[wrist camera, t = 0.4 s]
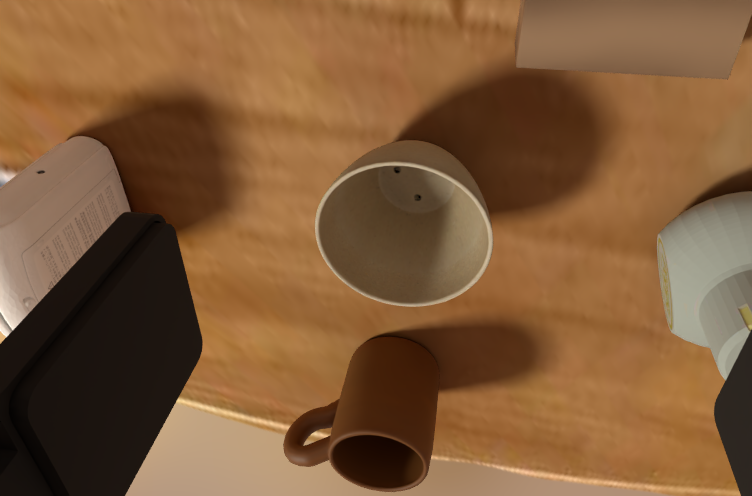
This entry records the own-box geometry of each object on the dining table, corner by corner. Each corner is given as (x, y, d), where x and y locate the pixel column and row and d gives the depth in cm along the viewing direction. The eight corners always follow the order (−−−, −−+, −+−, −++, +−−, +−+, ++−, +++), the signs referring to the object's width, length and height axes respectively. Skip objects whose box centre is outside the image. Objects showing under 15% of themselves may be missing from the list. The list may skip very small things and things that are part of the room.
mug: (323, 402, 55) (295, 497, 47) (290, 343, 51) (255, 437, 43) (450, 391, 51) (442, 492, 44) (426, 327, 47) (413, 427, 40)
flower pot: (358, 84, 36) (331, 138, 30) (518, 131, 36) (521, 194, 30) (329, 215, 42) (302, 280, 36) (465, 255, 42) (459, 326, 36)
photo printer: (54, 131, 42) (-83, 234, 32) (110, 134, 41) (-11, 240, 31) (99, 249, 48) (-3, 366, 38) (150, 253, 47) (58, 373, 37)
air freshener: (649, 185, 37) (689, 292, 29) (806, 157, 34) (897, 266, 26) (660, 314, 42) (697, 433, 35) (795, 299, 40) (867, 423, 32)
